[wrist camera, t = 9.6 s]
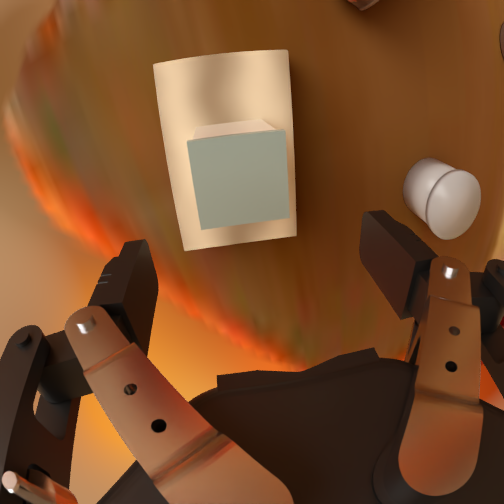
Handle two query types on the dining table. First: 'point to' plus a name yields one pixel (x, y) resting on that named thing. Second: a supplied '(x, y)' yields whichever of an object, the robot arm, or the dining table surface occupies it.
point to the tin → (363, 3)
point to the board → (217, 112)
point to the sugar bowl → (442, 197)
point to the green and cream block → (239, 173)
